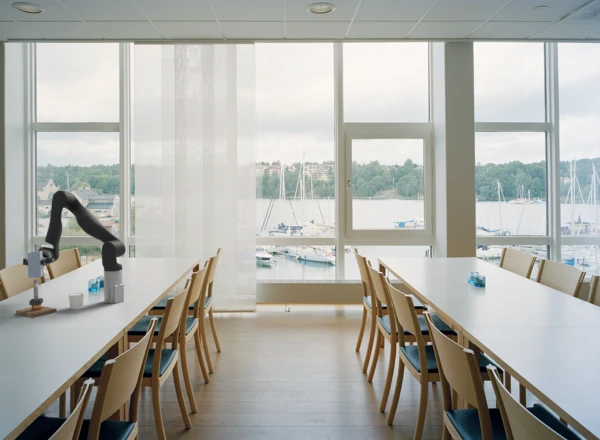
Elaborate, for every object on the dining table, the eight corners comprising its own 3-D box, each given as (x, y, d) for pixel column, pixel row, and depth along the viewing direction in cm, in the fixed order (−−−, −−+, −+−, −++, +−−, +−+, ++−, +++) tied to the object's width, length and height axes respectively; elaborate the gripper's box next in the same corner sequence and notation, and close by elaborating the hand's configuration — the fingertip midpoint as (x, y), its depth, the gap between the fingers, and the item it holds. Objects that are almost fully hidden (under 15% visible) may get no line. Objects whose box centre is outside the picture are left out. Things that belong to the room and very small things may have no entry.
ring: (42, 302, 211) (42, 298, 210) (40, 304, 206) (40, 300, 206) (31, 302, 209) (31, 298, 209) (29, 305, 204) (29, 301, 204)
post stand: (56, 311, 210) (55, 279, 209) (34, 317, 200) (34, 283, 199) (38, 308, 216) (37, 276, 215) (16, 313, 206) (15, 280, 205)
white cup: (80, 305, 222) (80, 292, 222) (86, 307, 218) (86, 294, 218) (66, 307, 217) (66, 294, 217) (72, 310, 213) (72, 296, 212)
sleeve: (43, 275, 210) (42, 251, 209) (40, 277, 205) (40, 252, 204) (31, 275, 208) (30, 251, 207) (28, 278, 203) (27, 253, 202)
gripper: (25, 251, 217) (16, 256, 201) (57, 250, 222) (50, 254, 206) (26, 266, 217) (17, 271, 201) (57, 264, 222) (51, 270, 206)
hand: (34, 263), depth 204 cm, fingers closed on sleeve, 5 cm apart
